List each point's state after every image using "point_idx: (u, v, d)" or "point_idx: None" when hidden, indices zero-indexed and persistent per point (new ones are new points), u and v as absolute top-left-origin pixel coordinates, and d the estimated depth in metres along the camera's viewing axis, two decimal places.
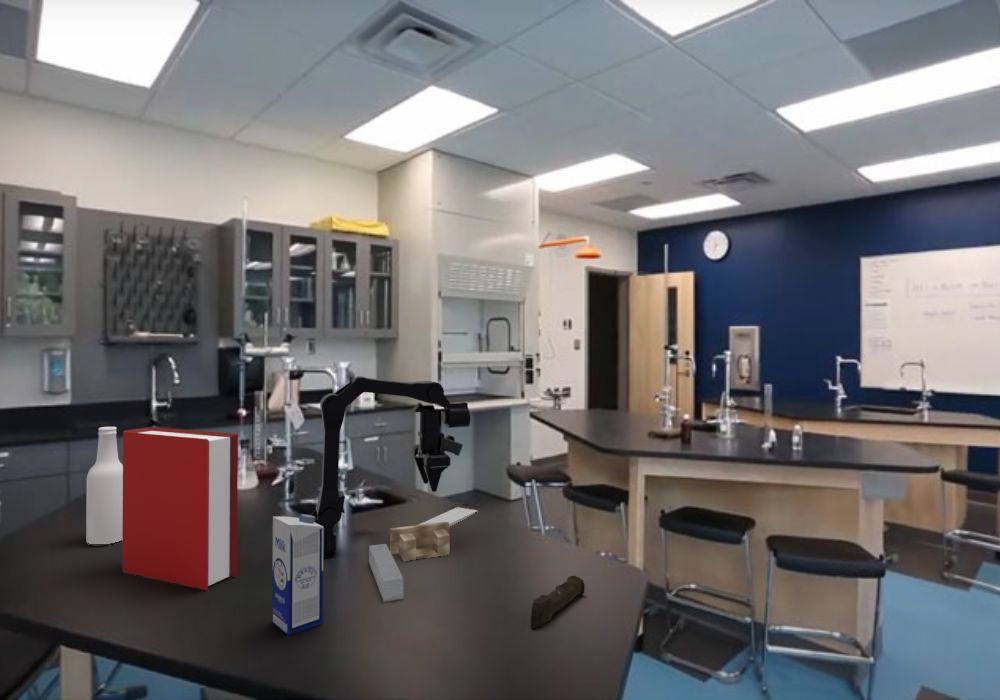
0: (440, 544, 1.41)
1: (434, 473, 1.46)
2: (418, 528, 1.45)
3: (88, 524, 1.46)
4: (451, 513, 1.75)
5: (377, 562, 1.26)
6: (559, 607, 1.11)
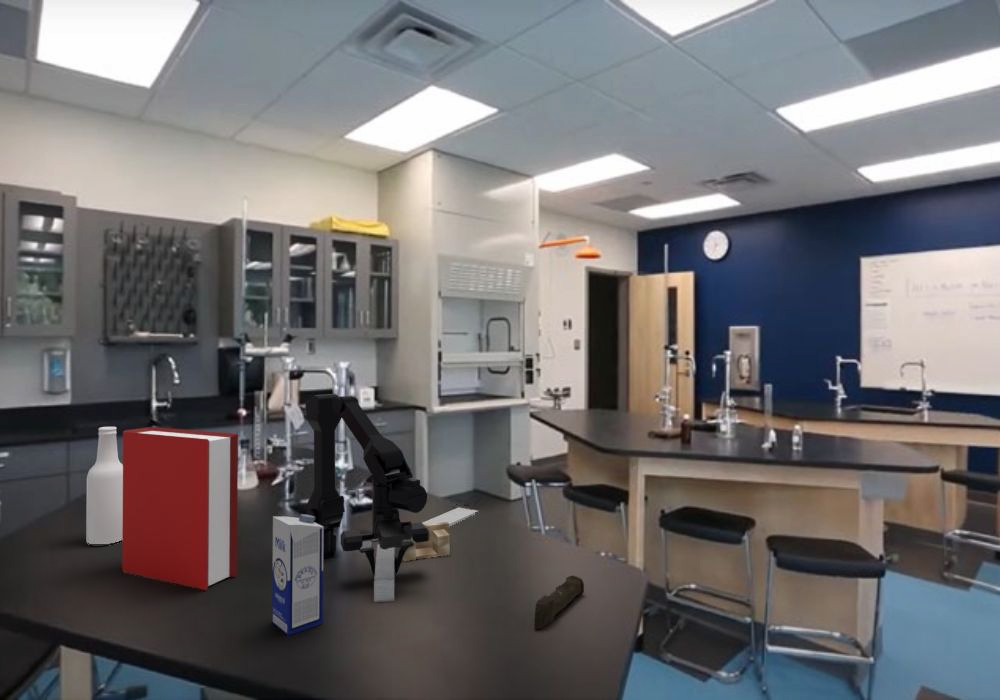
0: (440, 544, 1.41)
1: None
2: None
3: (88, 524, 1.46)
4: (451, 513, 1.74)
5: (377, 561, 1.26)
6: (561, 607, 1.11)
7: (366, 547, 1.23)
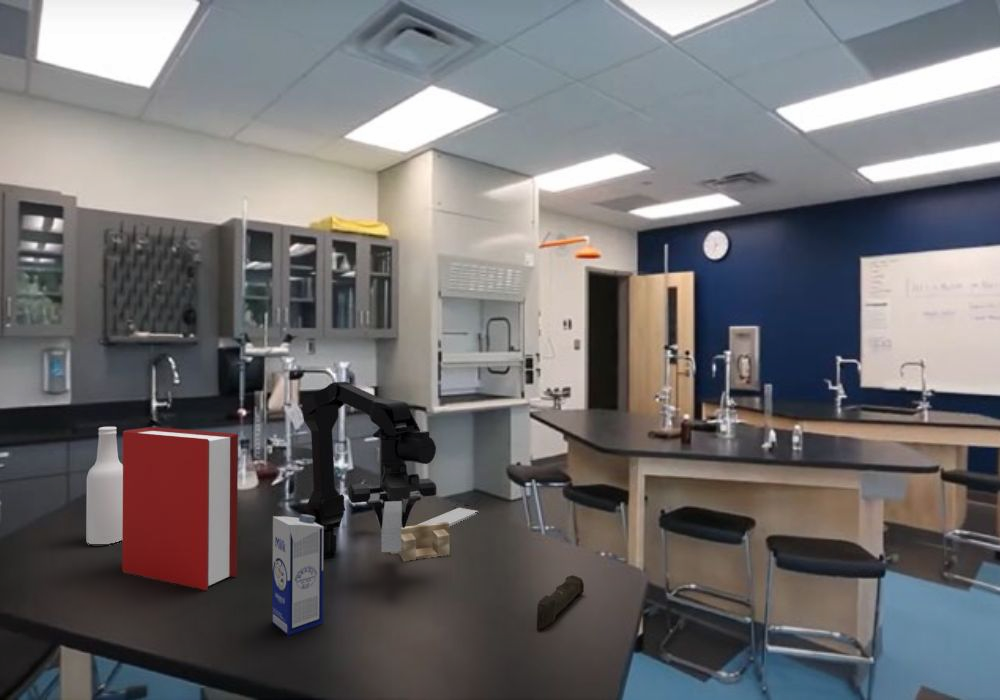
0: (440, 544, 1.41)
1: None
2: (418, 528, 1.45)
3: (88, 524, 1.46)
4: (452, 513, 1.74)
5: (384, 515, 1.26)
6: (562, 607, 1.11)
7: (374, 500, 1.23)
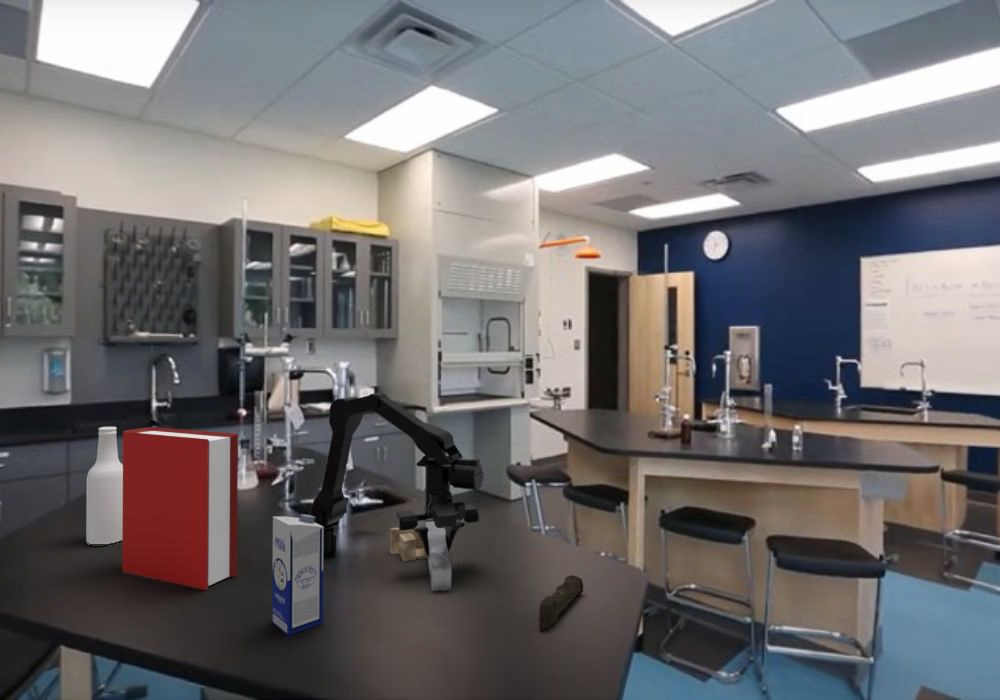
0: None
1: None
2: None
3: (88, 524, 1.46)
4: None
5: (430, 543, 1.30)
6: (563, 607, 1.11)
7: (420, 526, 1.28)
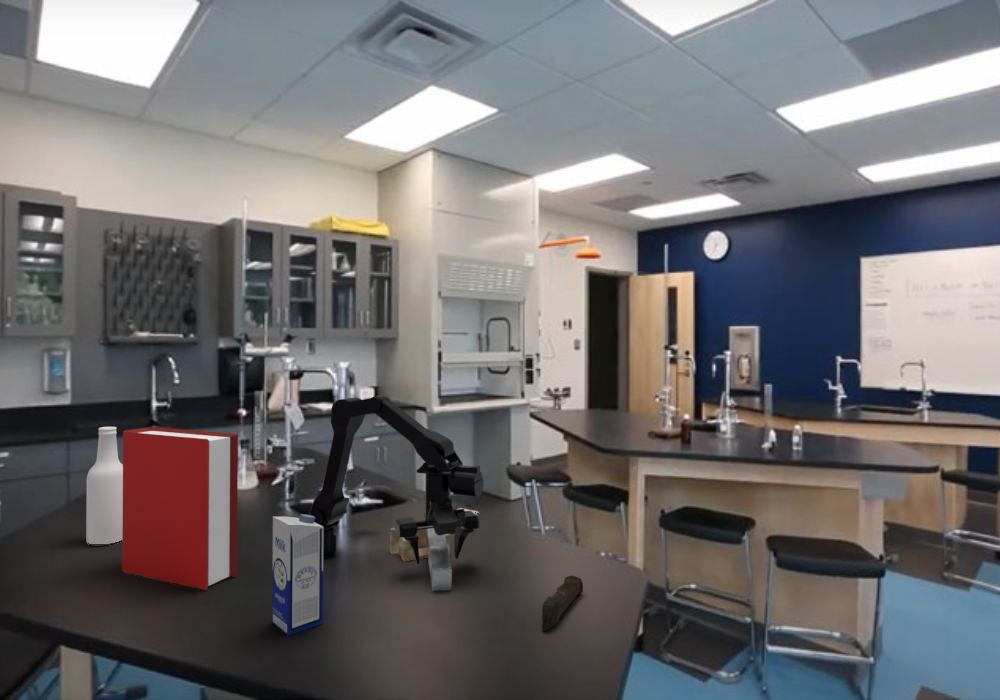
0: None
1: None
2: None
3: (88, 524, 1.46)
4: None
5: (430, 543, 1.30)
6: (564, 608, 1.11)
7: None
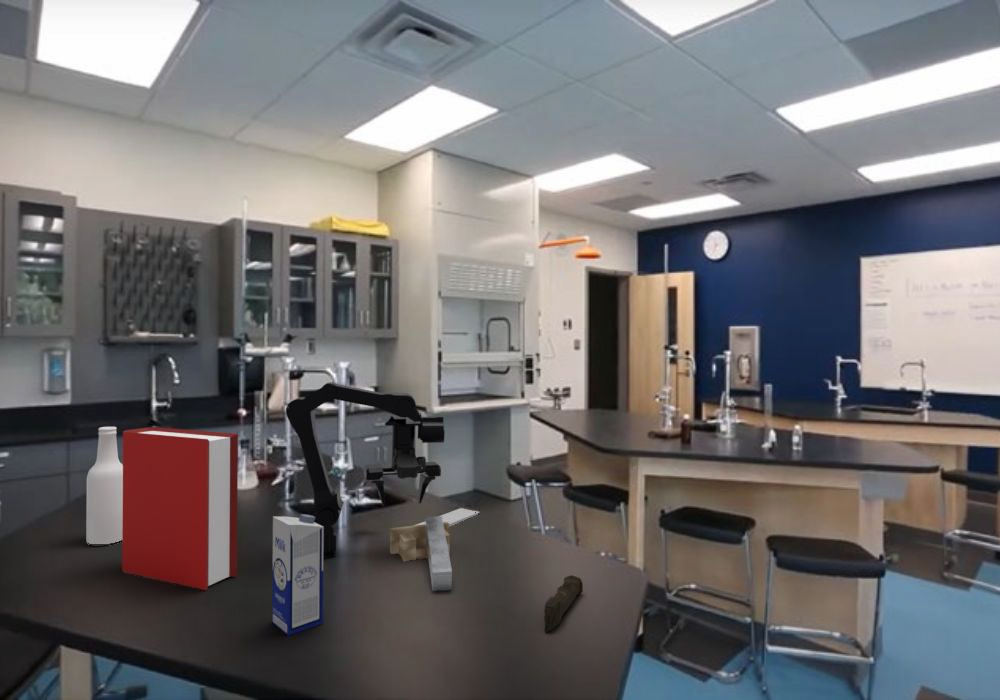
0: None
1: None
2: (418, 528, 1.45)
3: (88, 524, 1.46)
4: (452, 514, 1.74)
5: (430, 543, 1.30)
6: (566, 608, 1.11)
7: None
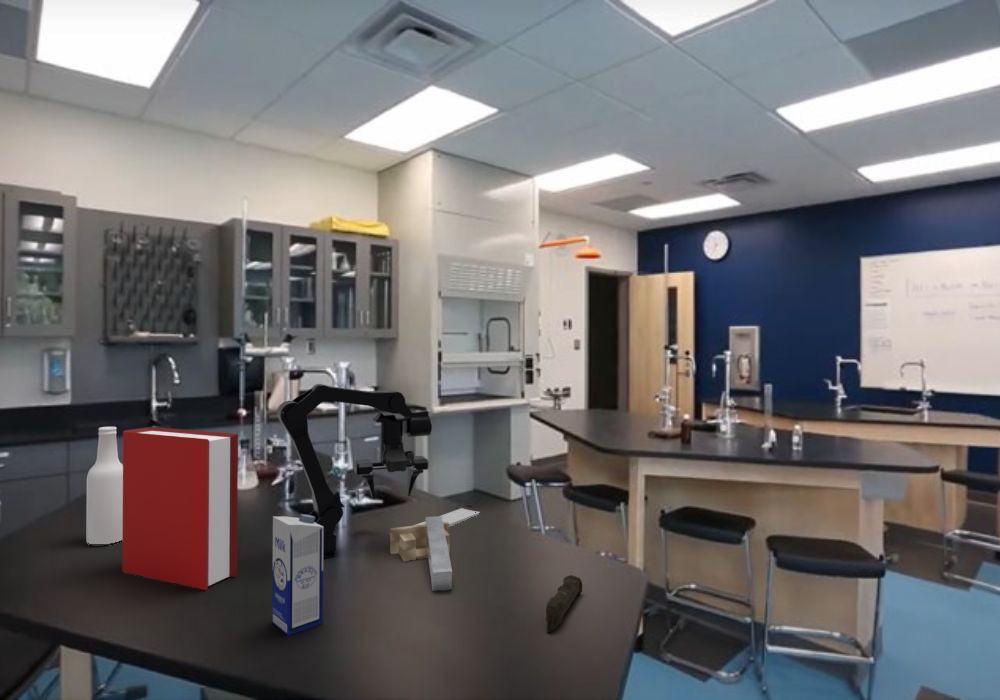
0: None
1: None
2: (418, 528, 1.45)
3: (88, 524, 1.46)
4: (452, 514, 1.74)
5: (430, 543, 1.30)
6: (567, 608, 1.11)
7: None
